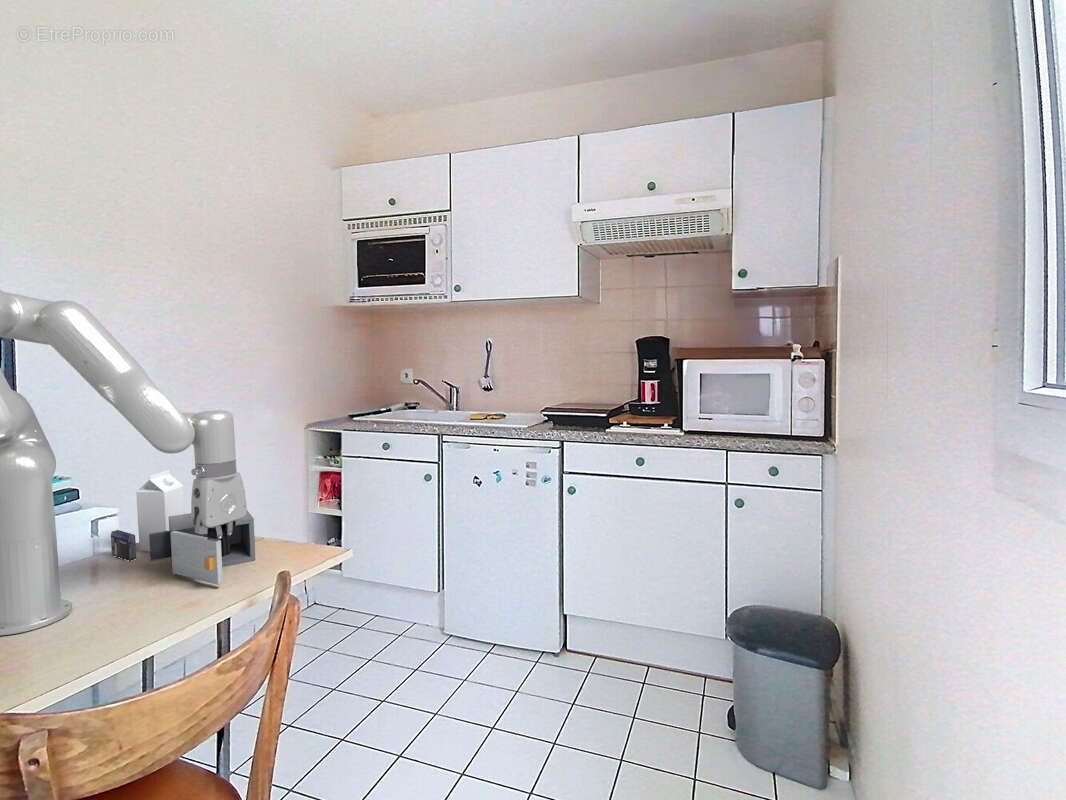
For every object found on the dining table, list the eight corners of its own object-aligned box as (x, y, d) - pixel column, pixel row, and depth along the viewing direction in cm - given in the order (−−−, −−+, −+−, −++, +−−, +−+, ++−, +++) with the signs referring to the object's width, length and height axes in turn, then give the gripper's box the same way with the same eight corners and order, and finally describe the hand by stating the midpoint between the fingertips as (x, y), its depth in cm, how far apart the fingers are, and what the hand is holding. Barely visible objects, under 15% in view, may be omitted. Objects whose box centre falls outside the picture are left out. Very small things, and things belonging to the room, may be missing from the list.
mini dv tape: (111, 555, 136) (110, 531, 135) (118, 554, 137) (117, 529, 136) (129, 561, 131) (128, 536, 131) (136, 559, 133) (135, 534, 132)
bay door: (166, 575, 120) (164, 533, 120) (177, 571, 122) (175, 530, 122) (212, 586, 114) (210, 543, 113) (222, 583, 116) (220, 540, 115)
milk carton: (139, 552, 138) (135, 475, 136) (159, 542, 145) (155, 469, 144) (167, 552, 138) (163, 475, 136) (186, 543, 145) (182, 469, 143)
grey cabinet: (152, 580, 120) (149, 534, 119) (150, 561, 131) (148, 519, 131) (255, 560, 132) (253, 518, 131) (245, 544, 143) (243, 505, 142)
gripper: (196, 478, 110) (202, 569, 111) (258, 463, 124) (263, 545, 125) (169, 475, 113) (175, 565, 114) (233, 462, 127) (237, 541, 128)
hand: (221, 554), depth 120 cm, fingers closed
